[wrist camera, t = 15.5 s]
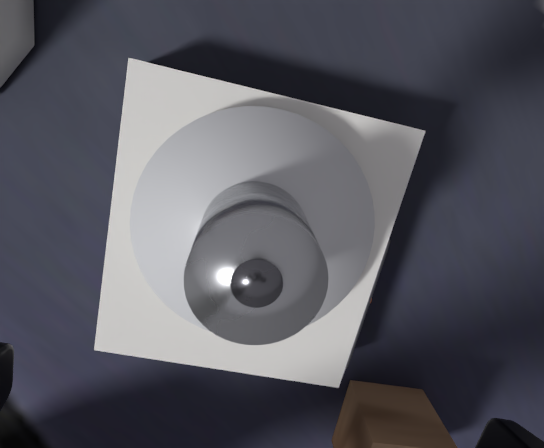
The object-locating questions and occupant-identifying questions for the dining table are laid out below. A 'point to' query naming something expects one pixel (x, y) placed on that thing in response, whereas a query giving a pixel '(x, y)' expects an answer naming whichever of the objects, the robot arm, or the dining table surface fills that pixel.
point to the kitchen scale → (221, 175)
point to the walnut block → (388, 419)
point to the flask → (15, 34)
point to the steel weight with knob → (255, 266)
